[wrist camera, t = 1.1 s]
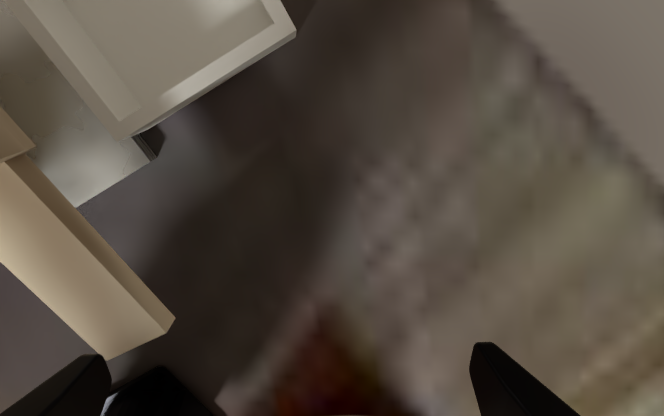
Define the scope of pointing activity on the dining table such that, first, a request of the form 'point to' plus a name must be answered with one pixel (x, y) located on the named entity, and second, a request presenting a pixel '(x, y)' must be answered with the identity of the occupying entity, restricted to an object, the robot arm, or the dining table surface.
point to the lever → (69, 257)
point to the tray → (151, 50)
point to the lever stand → (60, 120)
